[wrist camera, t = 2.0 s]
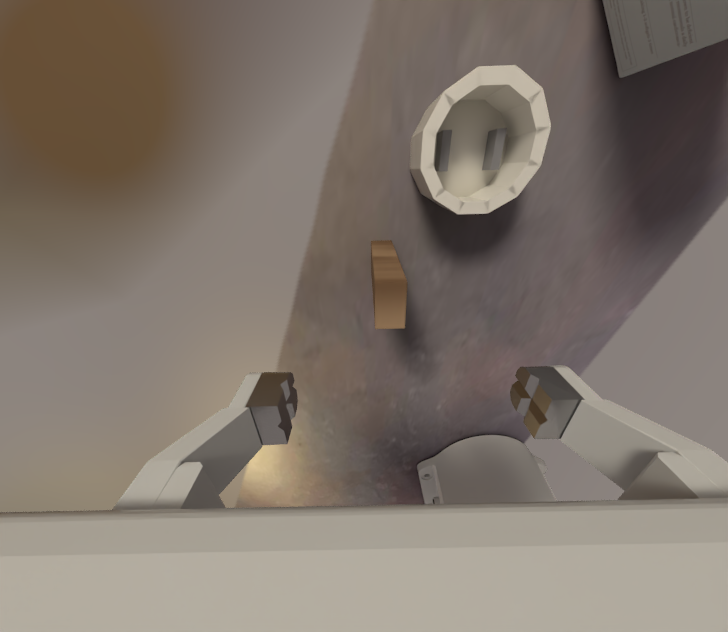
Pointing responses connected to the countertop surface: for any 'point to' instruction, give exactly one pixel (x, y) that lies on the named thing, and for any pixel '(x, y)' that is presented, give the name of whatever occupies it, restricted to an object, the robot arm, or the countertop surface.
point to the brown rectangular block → (387, 286)
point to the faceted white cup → (481, 140)
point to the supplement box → (662, 30)
